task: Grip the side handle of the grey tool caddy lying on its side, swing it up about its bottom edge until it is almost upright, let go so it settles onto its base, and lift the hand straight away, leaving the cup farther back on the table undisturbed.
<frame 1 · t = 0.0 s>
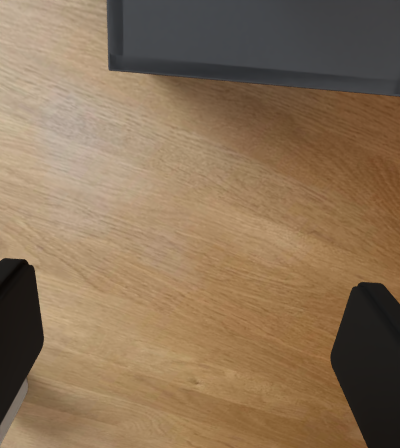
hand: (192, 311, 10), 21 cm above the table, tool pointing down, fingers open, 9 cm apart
cup: (0, 386, 42), on the table
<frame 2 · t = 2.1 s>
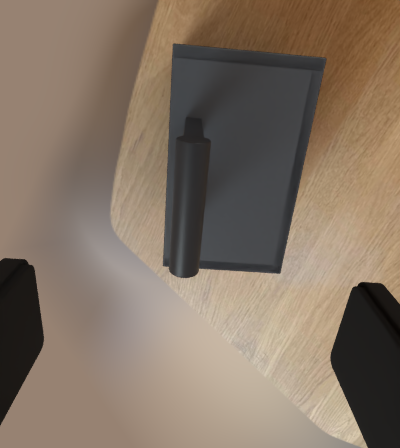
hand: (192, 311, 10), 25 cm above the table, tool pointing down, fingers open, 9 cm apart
grey tool caddy: (231, 167, 25), point 9 cm above the table, hinge at -90.0°
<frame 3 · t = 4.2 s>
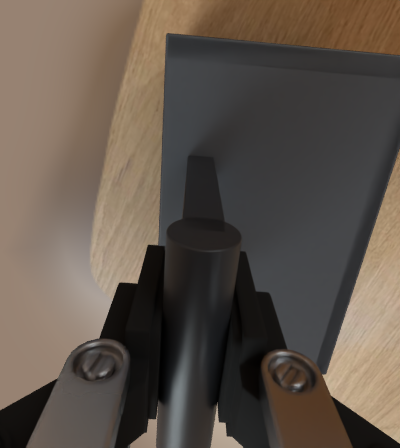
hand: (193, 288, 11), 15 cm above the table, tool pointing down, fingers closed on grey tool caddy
grey tool caddy: (257, 224, 16), point 9 cm above the table, hinge at -90.0°, touching gripper
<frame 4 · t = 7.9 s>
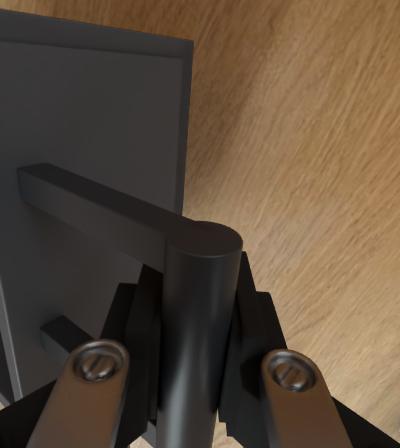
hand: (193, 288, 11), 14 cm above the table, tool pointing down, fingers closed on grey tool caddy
grey tool caddy: (84, 221, 15), point 9 cm above the table, hinge at -37.8°, touching gripper
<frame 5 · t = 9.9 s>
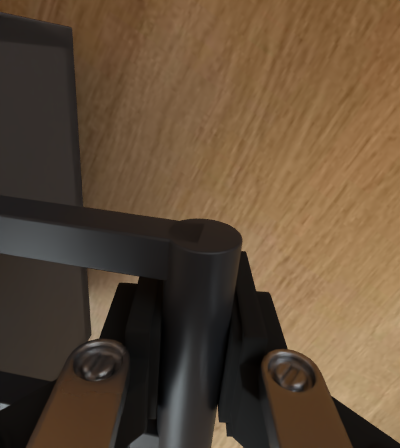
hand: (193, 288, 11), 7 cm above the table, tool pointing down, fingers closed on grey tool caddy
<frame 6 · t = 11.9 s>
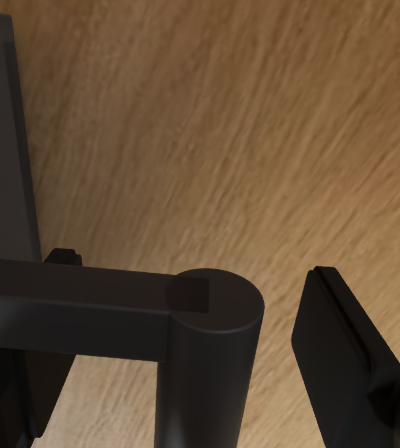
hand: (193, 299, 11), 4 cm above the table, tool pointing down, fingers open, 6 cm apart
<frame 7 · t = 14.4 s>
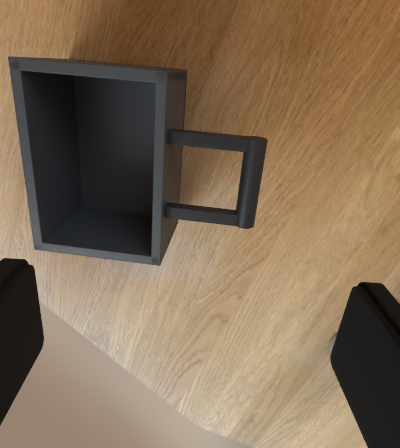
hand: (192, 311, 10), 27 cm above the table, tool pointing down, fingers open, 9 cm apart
grey tool caddy: (153, 162, 30), point 5 cm above the table, hinge at -5.9°
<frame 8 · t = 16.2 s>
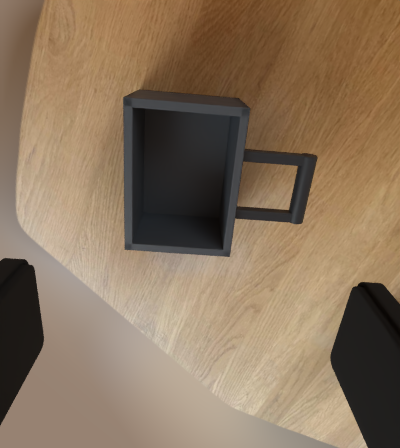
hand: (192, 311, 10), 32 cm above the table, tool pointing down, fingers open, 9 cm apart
grey tool caddy: (217, 174, 37), point 4 cm above the table, hinge at 0.0°
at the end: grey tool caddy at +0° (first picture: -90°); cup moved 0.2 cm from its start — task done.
